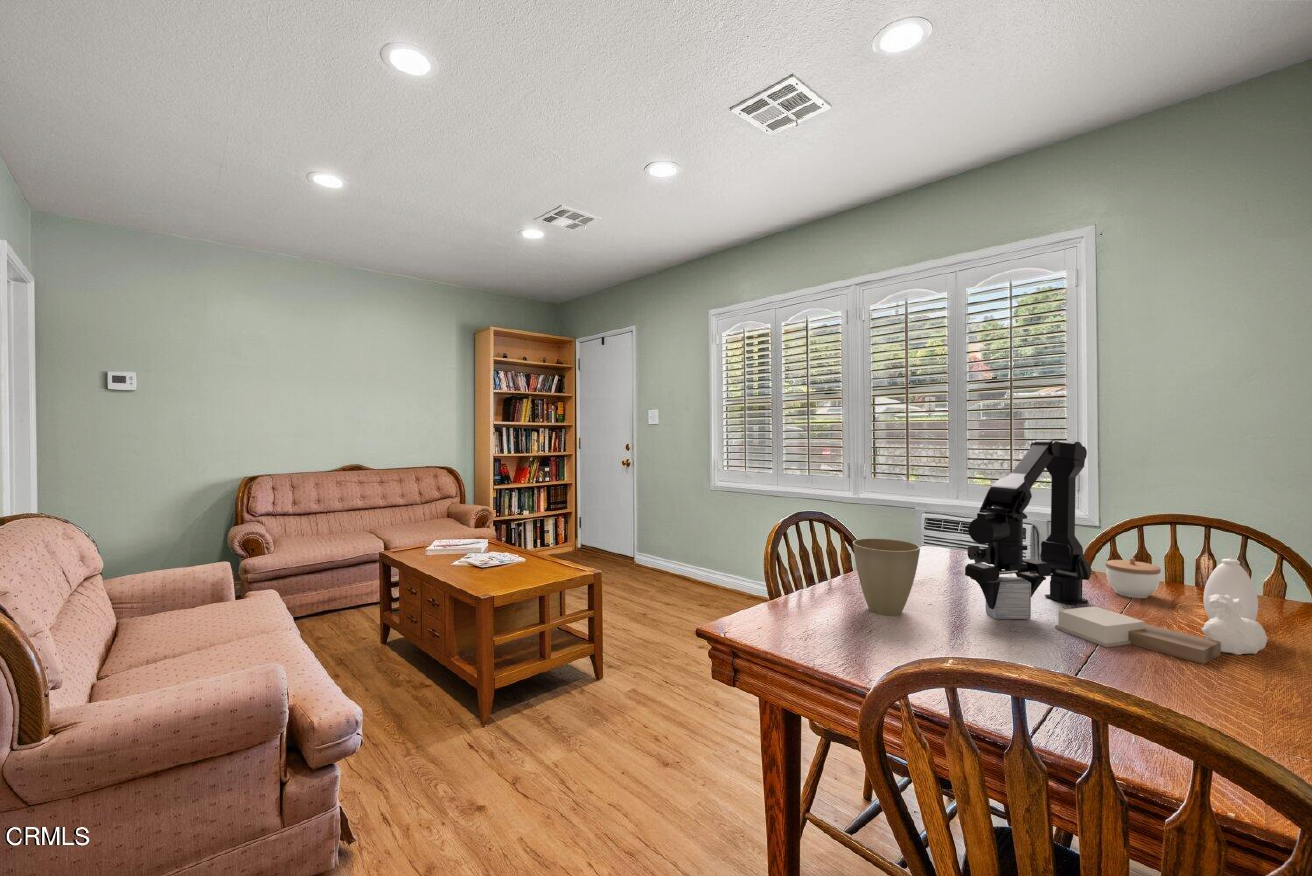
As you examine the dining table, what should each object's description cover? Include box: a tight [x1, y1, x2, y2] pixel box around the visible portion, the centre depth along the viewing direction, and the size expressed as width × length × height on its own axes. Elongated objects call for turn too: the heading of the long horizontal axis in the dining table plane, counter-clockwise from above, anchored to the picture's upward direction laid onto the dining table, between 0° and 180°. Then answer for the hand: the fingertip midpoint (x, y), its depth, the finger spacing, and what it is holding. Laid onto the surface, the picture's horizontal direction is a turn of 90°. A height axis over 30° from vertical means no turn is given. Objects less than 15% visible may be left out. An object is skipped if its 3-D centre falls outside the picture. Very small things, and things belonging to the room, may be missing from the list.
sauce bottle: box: [1202, 547, 1259, 621], centre depth 116 cm, size 8×8×18 cm
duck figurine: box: [1201, 594, 1268, 656], centre depth 109 cm, size 12×8×11 cm
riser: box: [1054, 605, 1145, 648], centre depth 116 cm, size 11×11×4 cm
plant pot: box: [852, 537, 921, 616], centre depth 133 cm, size 15×15×16 cm
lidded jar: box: [1105, 557, 1161, 599], centre depth 143 cm, size 11×11×9 cm
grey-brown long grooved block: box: [1128, 622, 1222, 665], centre depth 109 cm, size 8×12×2 cm, turn 29°
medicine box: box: [985, 576, 1032, 620], centre depth 128 cm, size 8×4×9 cm, turn 85°
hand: (1007, 607), depth 128 cm, fingers closed on medicine box, 9 cm apart
